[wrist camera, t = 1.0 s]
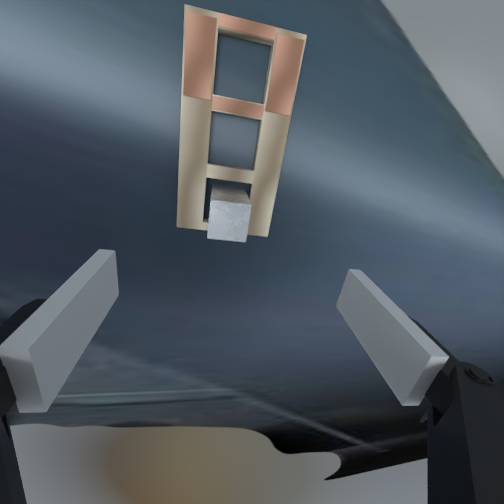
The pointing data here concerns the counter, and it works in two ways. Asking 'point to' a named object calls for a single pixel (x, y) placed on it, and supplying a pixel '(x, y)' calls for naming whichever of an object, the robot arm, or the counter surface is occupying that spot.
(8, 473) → the robot arm
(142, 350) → the counter surface
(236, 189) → the steel peg
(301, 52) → the hole rail
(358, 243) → the counter surface
